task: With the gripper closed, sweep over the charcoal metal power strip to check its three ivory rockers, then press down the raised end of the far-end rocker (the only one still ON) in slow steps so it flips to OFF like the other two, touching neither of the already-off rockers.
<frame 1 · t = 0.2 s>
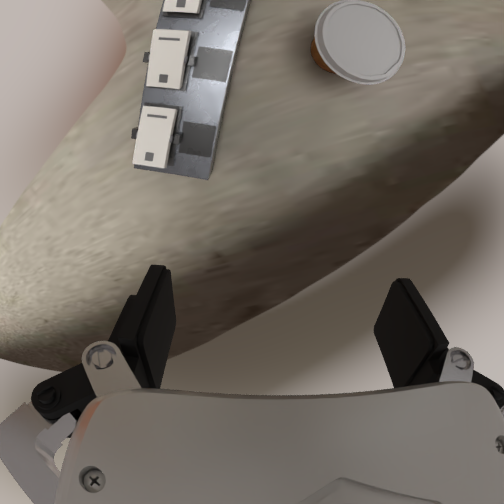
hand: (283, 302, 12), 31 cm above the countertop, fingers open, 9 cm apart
rocker 3: (154, 136, 31), point 6 cm above the countertop, hinge at -12.0°
power strip: (195, 63, 32), on the countertop
disposable coffee cup: (333, 51, 31), on the countertop
rocker 2: (167, 58, 26), point 6 cm above the countertop, hinge at 12.0°
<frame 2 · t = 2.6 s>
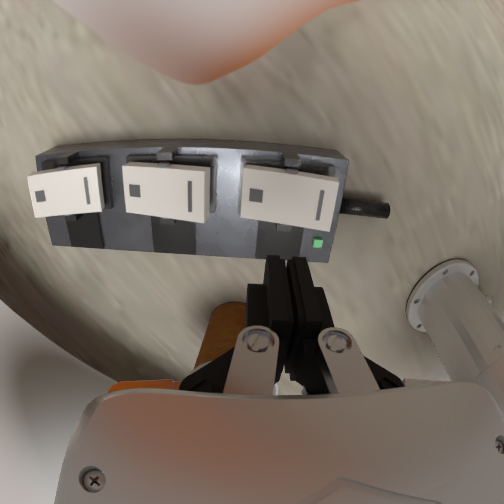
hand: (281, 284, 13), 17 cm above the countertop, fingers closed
rocker 3: (64, 191, 22), point 6 cm above the countertop, hinge at -12.0°
power strip: (182, 188, 28), on the countertop
rocker 1: (288, 197, 22), point 6 cm above the countertop, hinge at 12.0°
disposable coffee cup: (235, 319, 37), on the countertop
rocker 2: (164, 190, 22), point 6 cm above the countertop, hinge at 12.0°
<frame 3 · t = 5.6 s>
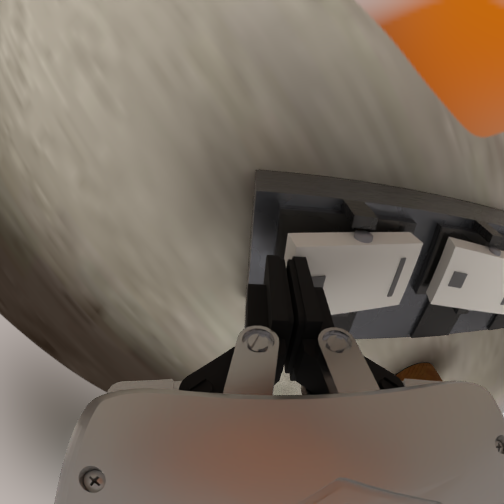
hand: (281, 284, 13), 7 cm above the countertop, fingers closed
rocker 3: (353, 274, 14), point 6 cm above the countertop, hinge at -11.4°, touching gripper
power strip: (431, 255, 21), on the countertop
disposable coffee cup: (410, 377, 30), on the countertop
rocker 2: (482, 279, 14), point 6 cm above the countertop, hinge at 12.0°
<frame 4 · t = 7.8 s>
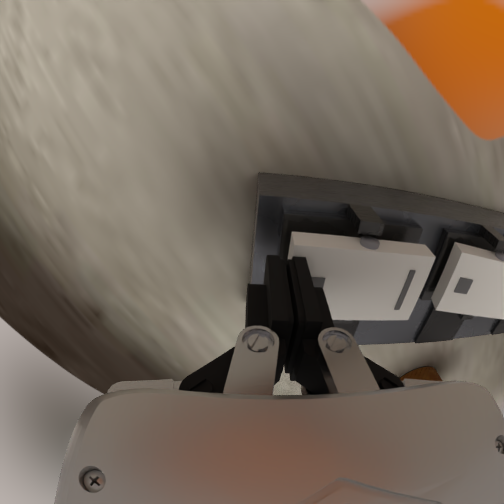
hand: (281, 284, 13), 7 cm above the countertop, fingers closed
rocker 3: (358, 281, 14), point 6 cm above the countertop, hinge at 0.6°, touching gripper
power strip: (435, 259, 20), on the countertop
disposable coffee cup: (412, 381, 29), on the countertop
rocker 2: (487, 285, 14), point 6 cm above the countertop, hinge at 12.0°
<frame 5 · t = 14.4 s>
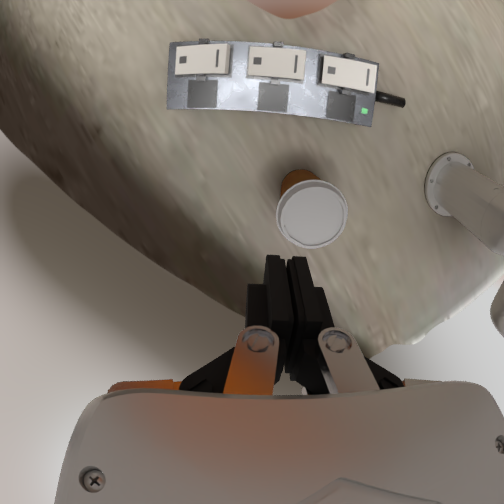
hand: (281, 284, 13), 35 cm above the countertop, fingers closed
rocker 3: (201, 59, 31), point 6 cm above the countertop, hinge at 16.5°
power strip: (272, 79, 38), on the countertop
rocker 1: (349, 73, 32), point 6 cm above the countertop, hinge at 12.0°
disposable coffee cup: (300, 187, 47), on the countertop
rocker 2: (277, 62, 32), point 6 cm above the countertop, hinge at 12.0°
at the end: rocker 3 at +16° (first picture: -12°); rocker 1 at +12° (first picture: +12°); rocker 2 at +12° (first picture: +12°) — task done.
